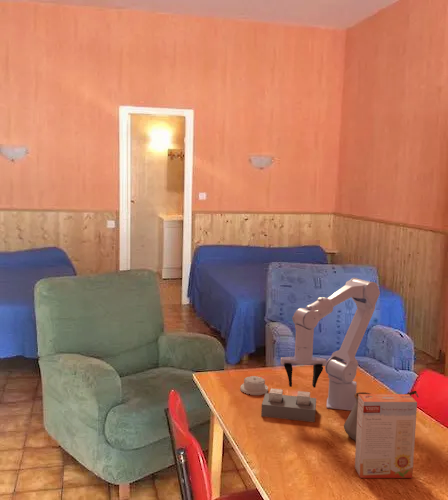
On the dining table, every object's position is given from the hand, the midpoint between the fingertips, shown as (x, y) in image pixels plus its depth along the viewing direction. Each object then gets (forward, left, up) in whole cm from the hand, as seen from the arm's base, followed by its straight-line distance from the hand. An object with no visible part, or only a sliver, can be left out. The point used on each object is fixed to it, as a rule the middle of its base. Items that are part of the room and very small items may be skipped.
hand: (302, 386), depth 185 cm
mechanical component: (+18, -17, -10) cm, 26 cm away
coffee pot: (-24, +12, -10) cm, 28 cm away
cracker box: (-23, +33, -10) cm, 42 cm away
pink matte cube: (-1, +1, -6) cm, 6 cm away
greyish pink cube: (+8, +1, -6) cm, 11 cm away
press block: (+4, +1, -9) cm, 10 cm away
